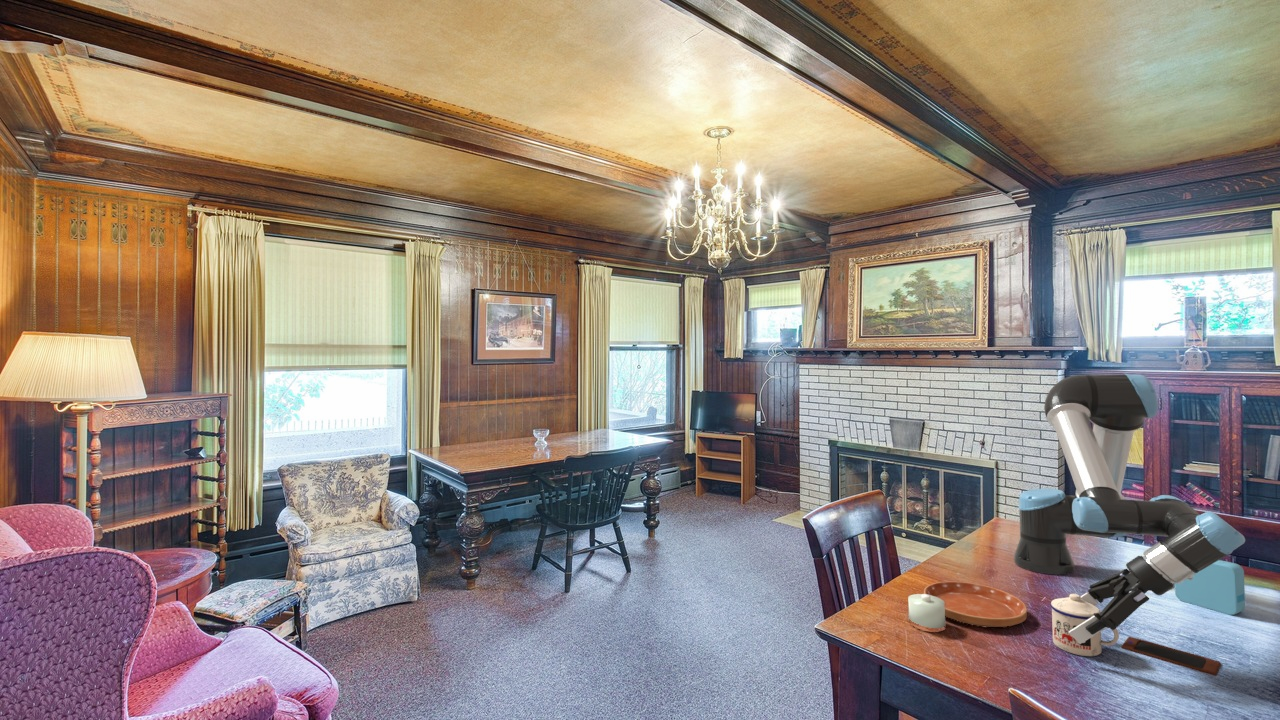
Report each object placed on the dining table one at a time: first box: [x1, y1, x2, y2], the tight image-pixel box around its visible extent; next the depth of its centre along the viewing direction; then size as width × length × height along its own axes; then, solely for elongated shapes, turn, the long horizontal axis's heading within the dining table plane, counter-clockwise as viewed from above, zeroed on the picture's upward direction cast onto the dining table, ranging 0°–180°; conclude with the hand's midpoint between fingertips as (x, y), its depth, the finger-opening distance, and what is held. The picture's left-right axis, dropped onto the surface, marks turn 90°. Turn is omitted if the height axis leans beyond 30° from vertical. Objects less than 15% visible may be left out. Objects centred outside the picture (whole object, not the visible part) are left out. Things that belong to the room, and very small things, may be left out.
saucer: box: [923, 580, 1028, 628], centre depth 146 cm, size 23×23×4 cm
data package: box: [1174, 559, 1246, 616], centre depth 145 cm, size 12×4×12 cm, turn 24°
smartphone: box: [1120, 636, 1222, 677], centre depth 122 cm, size 7×1×15 cm
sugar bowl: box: [907, 593, 946, 628], centre depth 139 cm, size 8×8×7 cm
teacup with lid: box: [1049, 593, 1120, 657], centre depth 126 cm, size 12×9×12 cm
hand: (1071, 625), depth 127 cm, fingers open, 13 cm apart
